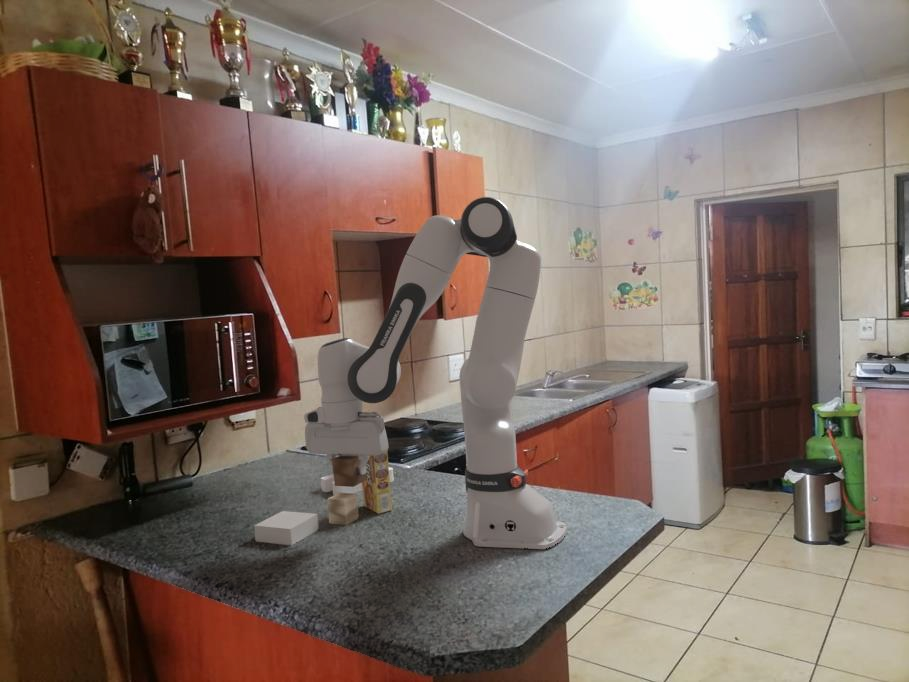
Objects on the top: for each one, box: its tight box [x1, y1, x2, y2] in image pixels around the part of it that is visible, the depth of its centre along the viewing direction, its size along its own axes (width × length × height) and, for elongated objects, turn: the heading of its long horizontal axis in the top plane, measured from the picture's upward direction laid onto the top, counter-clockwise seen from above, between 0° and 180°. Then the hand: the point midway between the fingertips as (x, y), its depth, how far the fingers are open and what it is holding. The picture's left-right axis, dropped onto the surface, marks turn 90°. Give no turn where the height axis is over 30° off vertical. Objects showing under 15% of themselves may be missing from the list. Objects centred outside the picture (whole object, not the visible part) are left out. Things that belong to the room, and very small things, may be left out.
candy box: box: [362, 450, 393, 514], centre depth 163 cm, size 9×4×15 cm, turn 33°
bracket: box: [320, 466, 395, 496], centre depth 185 cm, size 19×10×11 cm, turn 132°
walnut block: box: [332, 454, 366, 487], centre depth 144 cm, size 5×5×6 cm
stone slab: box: [253, 510, 320, 546], centre depth 148 cm, size 10×10×4 cm
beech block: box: [326, 493, 359, 526], centre depth 156 cm, size 5×5×6 cm
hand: (349, 473), depth 144 cm, fingers closed on walnut block, 5 cm apart
